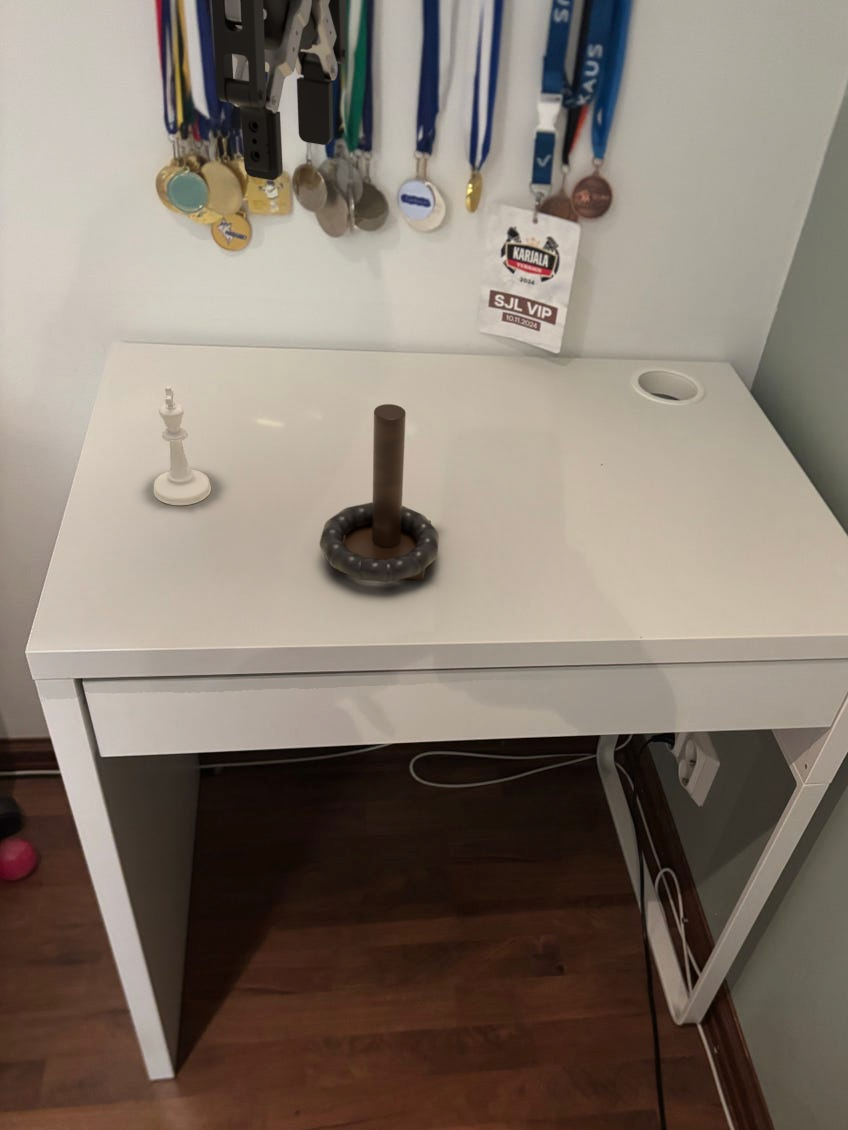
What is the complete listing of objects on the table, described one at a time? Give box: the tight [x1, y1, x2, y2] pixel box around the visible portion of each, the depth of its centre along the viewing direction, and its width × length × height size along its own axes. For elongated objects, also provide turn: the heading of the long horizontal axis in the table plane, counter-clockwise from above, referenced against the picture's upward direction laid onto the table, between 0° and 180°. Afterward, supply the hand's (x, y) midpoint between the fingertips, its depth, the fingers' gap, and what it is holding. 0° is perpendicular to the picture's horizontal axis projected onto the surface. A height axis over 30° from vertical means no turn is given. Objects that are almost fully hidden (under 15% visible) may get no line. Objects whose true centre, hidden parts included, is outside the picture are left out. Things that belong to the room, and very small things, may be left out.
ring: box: [319, 501, 440, 583], centre depth 79 cm, size 10×10×2 cm
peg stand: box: [338, 403, 432, 581], centre depth 77 cm, size 7×7×13 cm
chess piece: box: [153, 385, 212, 506], centre depth 82 cm, size 5×5×10 cm
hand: (291, 158), depth 62 cm, fingers open, 8 cm apart
